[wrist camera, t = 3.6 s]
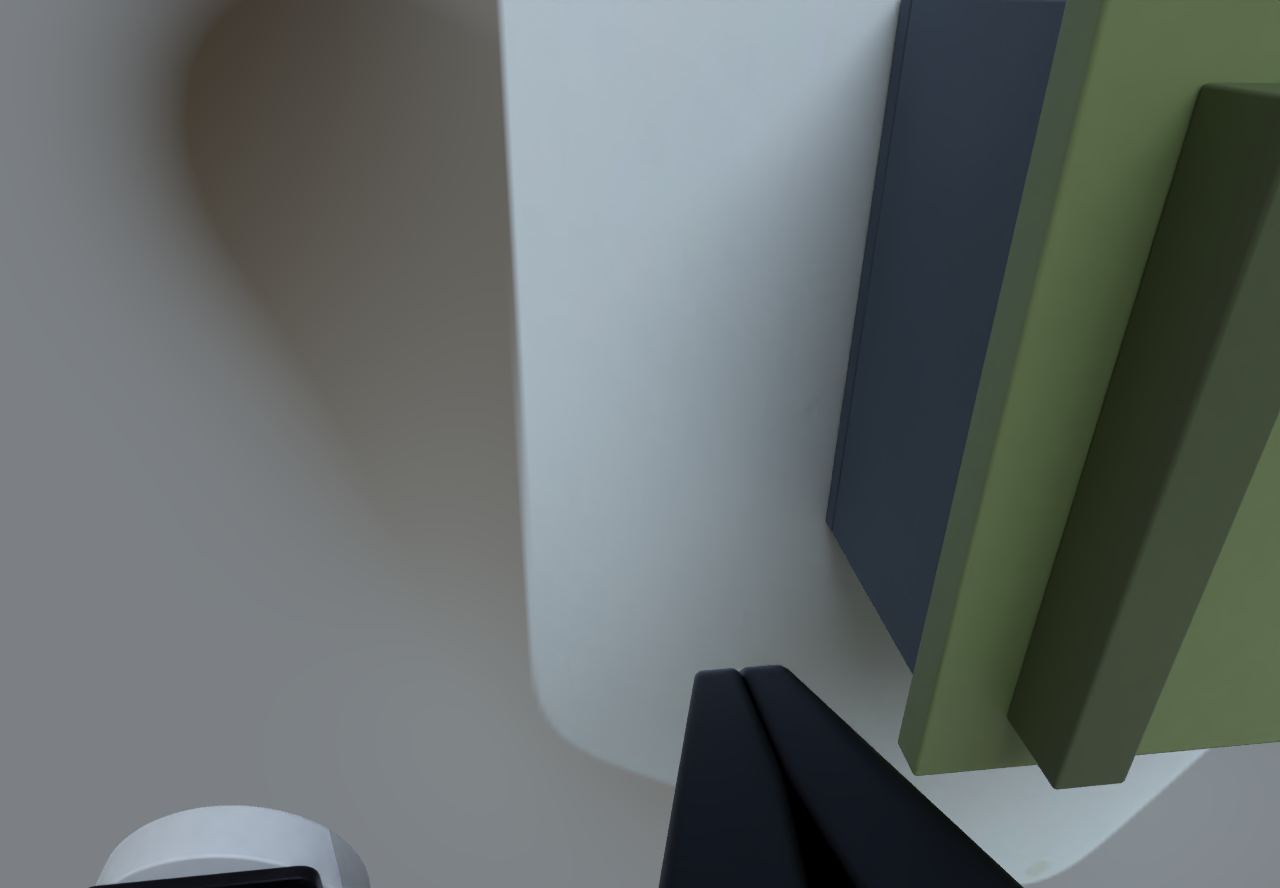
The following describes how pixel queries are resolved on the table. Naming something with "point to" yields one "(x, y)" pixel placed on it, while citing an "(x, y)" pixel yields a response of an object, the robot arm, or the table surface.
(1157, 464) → the bin lid
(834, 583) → the table surface
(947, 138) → the bin
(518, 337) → the table surface
